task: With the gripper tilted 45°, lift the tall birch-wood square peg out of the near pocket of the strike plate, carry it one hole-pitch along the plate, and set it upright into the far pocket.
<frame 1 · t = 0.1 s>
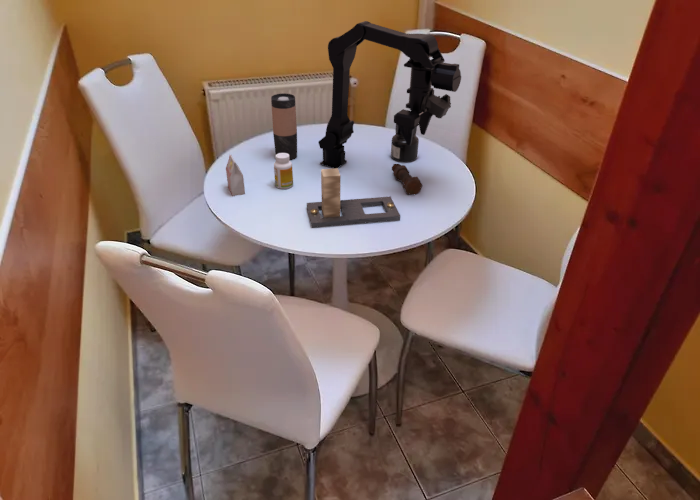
hand: (415, 139, 153), 15 cm above the table, tool pointing down, fingers open, 9 cm apart
travel mug: (286, 157, 178), on the table
tea bag: (236, 190, 158), on the table
bolt: (404, 184, 163), on the table
strike plate: (352, 213, 147), on the table
ink bottle: (403, 157, 179), on the table
supplement bottle: (284, 185, 161), on the table
birch peg: (331, 215, 146), resting in strike plate
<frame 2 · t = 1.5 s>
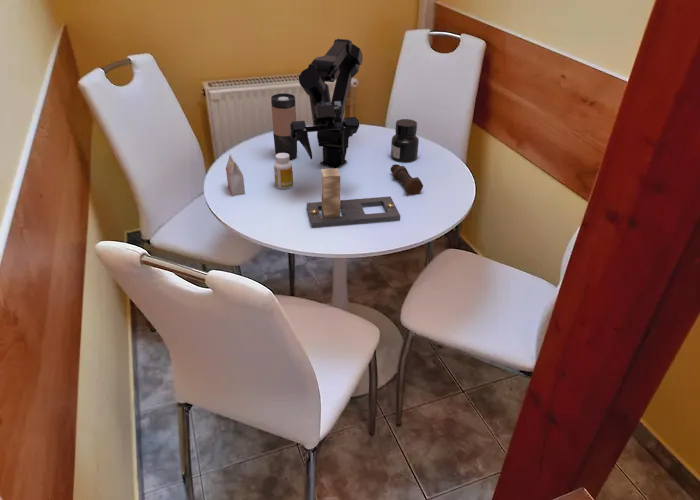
hand: (328, 157, 146), 13 cm above the table, tool tilted 45°, fingers open, 9 cm apart
nothing on the table moved.
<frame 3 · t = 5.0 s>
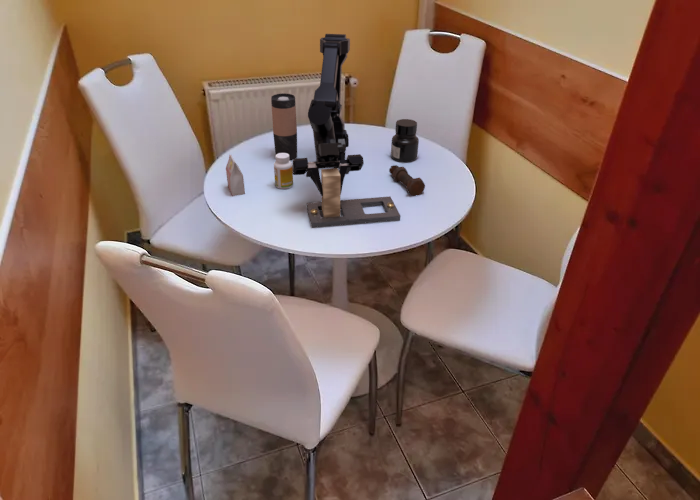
hand: (331, 195, 142), 7 cm above the table, tool tilted 45°, fingers closed on birch peg, 4 cm apart
birch peg: (330, 215, 146), resting in strike plate, touching gripper
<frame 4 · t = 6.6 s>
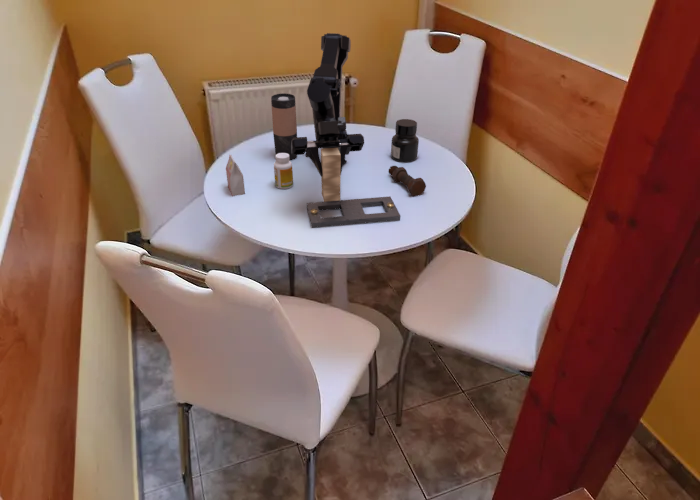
hand: (331, 175, 139), 12 cm above the table, tool tilted 45°, fingers closed on birch peg, 4 cm apart
birch peg: (330, 196, 143), point 6 cm above the table, touching gripper
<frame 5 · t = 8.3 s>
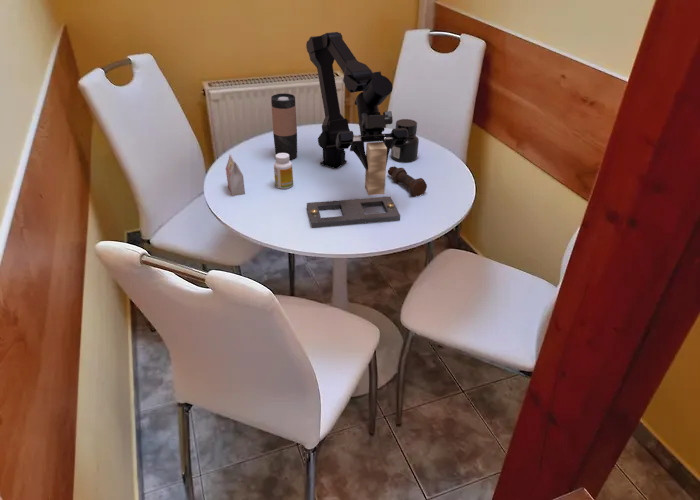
hand: (376, 169, 140), 13 cm above the table, tool tilted 45°, fingers closed on birch peg, 4 cm apart
birch peg: (374, 190, 144), point 7 cm above the table, touching gripper
when the fingers open (7 cm above the table, at t = 10.3 s): birch peg stays where it is, resting in strike plate.
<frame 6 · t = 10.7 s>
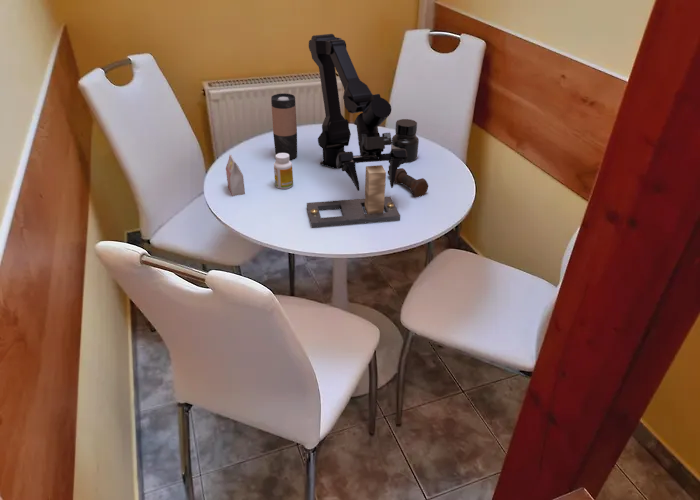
hand: (375, 188, 143), 8 cm above the table, tool tilted 45°, fingers open, 9 cm apart
birch peg: (373, 212, 148), resting in strike plate
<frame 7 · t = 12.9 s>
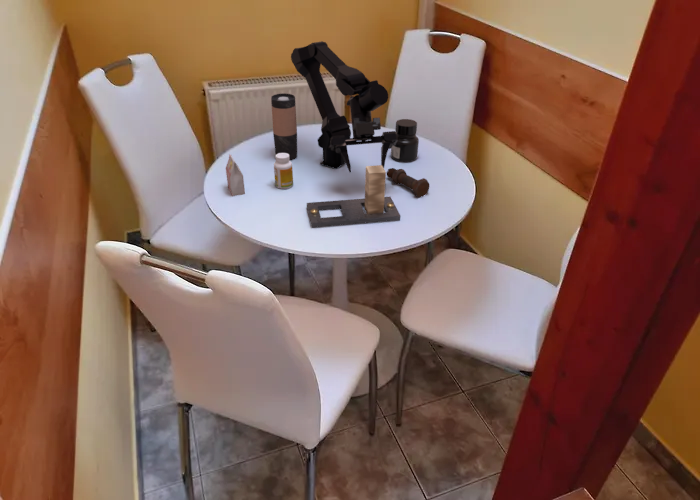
hand: (366, 170, 151), 8 cm above the table, tool tilted 40°, fingers open, 9 cm apart
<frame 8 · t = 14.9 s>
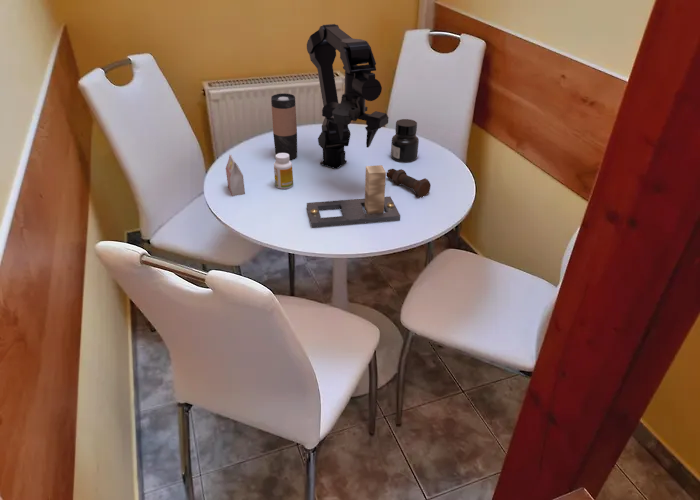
hand: (354, 143, 155), 13 cm above the table, tool pointing down, fingers open, 9 cm apart
at the end: birch peg 0.1 cm from the target spot on the strike plate, point 0.0 cm above the strike plate's base; birch peg tilted 0°; the gripper is holding nothing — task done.
